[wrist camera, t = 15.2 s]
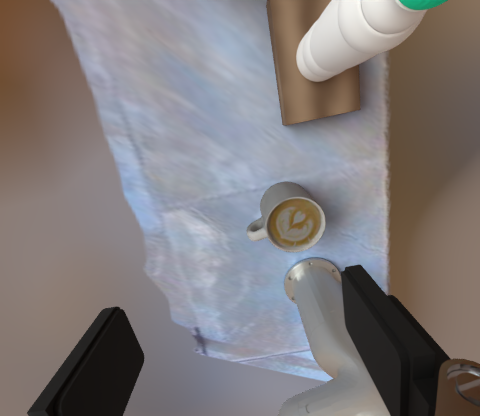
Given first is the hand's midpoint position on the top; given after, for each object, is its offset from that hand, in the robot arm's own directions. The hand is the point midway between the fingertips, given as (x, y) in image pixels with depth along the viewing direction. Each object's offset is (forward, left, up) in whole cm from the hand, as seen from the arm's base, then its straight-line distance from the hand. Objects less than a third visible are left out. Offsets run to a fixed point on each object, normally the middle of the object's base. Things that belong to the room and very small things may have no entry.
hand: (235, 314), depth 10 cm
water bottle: (-6, -20, -34) cm, 40 cm away
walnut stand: (-6, -20, -38) cm, 44 cm away
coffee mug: (-10, +6, -38) cm, 40 cm away
